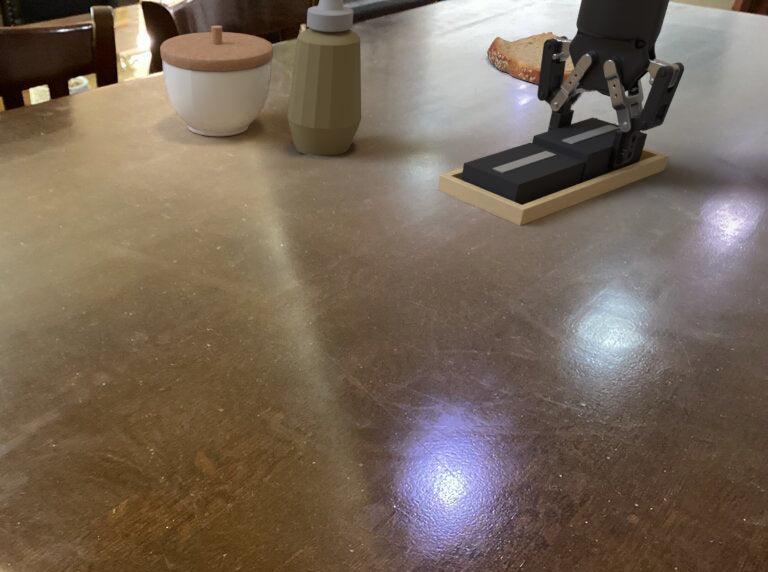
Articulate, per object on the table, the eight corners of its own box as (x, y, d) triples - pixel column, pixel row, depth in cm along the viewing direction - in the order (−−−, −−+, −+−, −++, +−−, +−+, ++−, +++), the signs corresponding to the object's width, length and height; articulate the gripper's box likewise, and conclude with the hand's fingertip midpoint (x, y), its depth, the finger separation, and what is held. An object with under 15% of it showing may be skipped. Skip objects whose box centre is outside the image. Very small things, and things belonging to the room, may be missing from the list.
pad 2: (585, 144, 89) (592, 116, 87) (639, 162, 85) (648, 132, 83) (527, 164, 84) (533, 134, 82) (581, 184, 80) (589, 153, 78)
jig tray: (580, 146, 92) (585, 128, 91) (663, 173, 85) (669, 155, 84) (436, 194, 80) (439, 174, 79) (519, 230, 74) (523, 209, 73)
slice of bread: (590, 94, 108) (598, 65, 106) (461, 73, 116) (465, 45, 113) (619, 64, 120) (626, 37, 118) (501, 47, 128) (505, 21, 126)
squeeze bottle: (349, 167, 86) (364, -21, 75) (276, 157, 88) (281, -27, 77) (366, 142, 92) (382, -35, 82) (297, 133, 94) (304, -40, 84)
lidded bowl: (288, 118, 98) (291, 21, 92) (243, 151, 89) (243, 45, 83) (196, 104, 103) (193, 9, 96) (144, 134, 93) (137, 32, 87)
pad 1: (524, 170, 84) (530, 141, 82) (577, 190, 80) (585, 160, 78) (458, 192, 79) (463, 161, 78) (512, 215, 75) (518, 183, 73)
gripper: (728, -15, 71) (670, 169, 81) (586, -37, 81) (549, 130, 90) (682, -5, 68) (626, 186, 77) (539, -30, 77) (505, 144, 87)
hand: (585, 155), depth 84 cm, fingers closed on pad 2, 6 cm apart
